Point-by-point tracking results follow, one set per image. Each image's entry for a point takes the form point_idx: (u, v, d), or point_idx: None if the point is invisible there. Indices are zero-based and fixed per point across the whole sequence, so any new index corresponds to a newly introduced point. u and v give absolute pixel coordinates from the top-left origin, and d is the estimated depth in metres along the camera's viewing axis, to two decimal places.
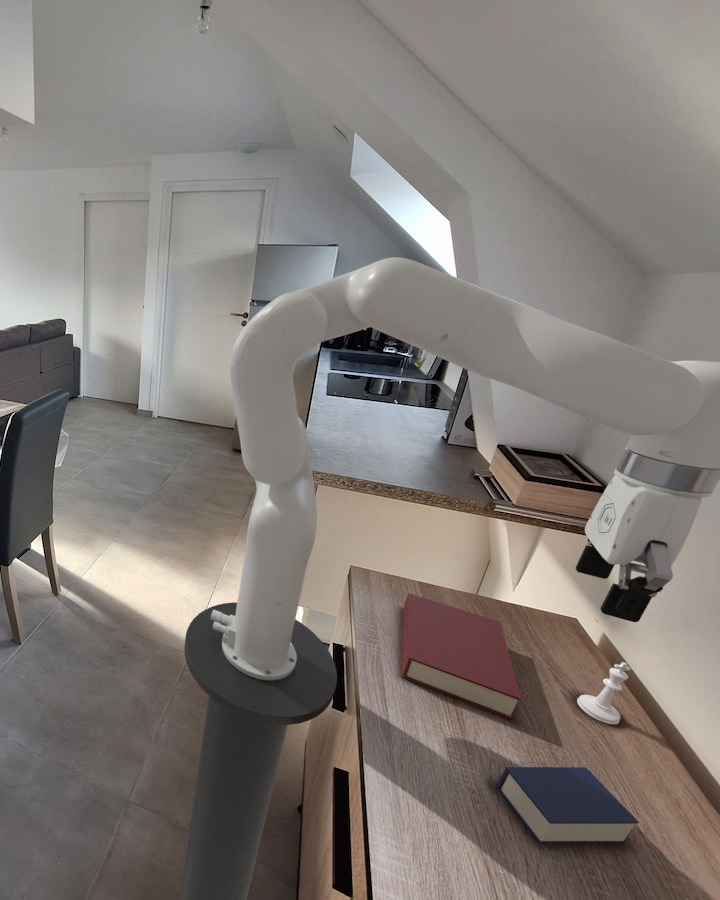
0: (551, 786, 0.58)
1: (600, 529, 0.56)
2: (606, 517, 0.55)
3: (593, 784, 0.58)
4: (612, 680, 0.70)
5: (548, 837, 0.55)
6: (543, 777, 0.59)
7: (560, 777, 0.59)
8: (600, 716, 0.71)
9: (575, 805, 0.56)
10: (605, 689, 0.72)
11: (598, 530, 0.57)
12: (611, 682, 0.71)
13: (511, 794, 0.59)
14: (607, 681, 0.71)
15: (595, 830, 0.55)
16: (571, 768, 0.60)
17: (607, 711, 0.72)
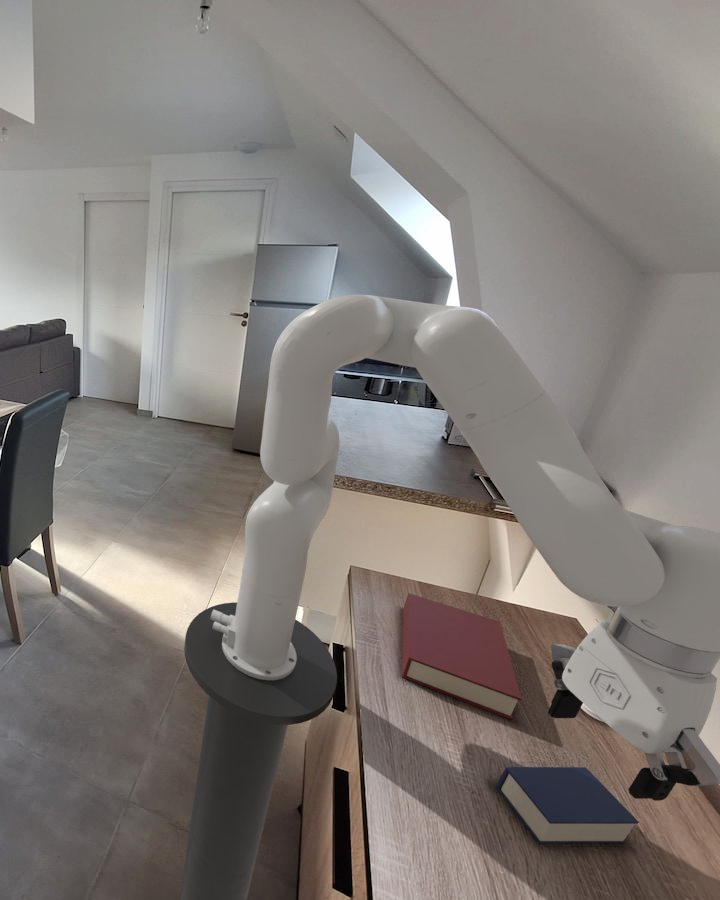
0: (551, 786, 0.58)
1: (602, 698, 0.51)
2: (608, 687, 0.51)
3: (593, 784, 0.58)
4: None
5: (548, 837, 0.55)
6: (543, 777, 0.59)
7: (560, 777, 0.59)
8: None
9: (575, 805, 0.56)
10: None
11: (597, 697, 0.52)
12: None
13: (511, 794, 0.59)
14: None
15: (595, 830, 0.55)
16: (571, 768, 0.60)
17: None
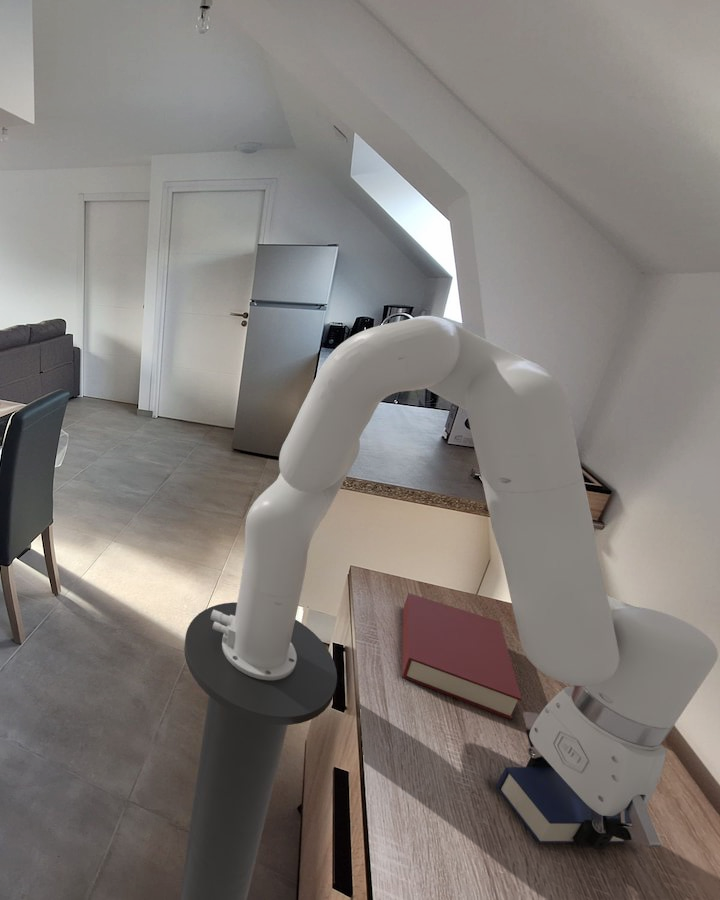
0: (551, 786, 0.58)
1: (564, 760, 0.55)
2: (569, 750, 0.54)
3: None
4: None
5: (548, 837, 0.55)
6: (543, 777, 0.59)
7: (560, 777, 0.59)
8: None
9: (575, 805, 0.56)
10: None
11: (559, 758, 0.55)
12: None
13: (511, 794, 0.59)
14: None
15: None
16: None
17: None
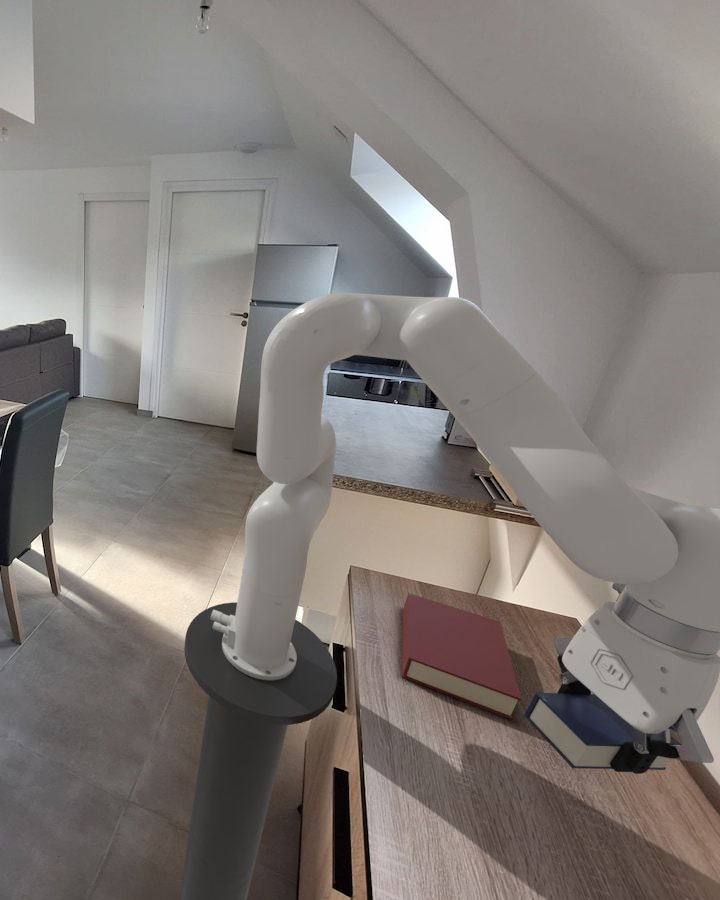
0: (585, 711, 0.53)
1: (603, 679, 0.51)
2: (609, 667, 0.50)
3: None
4: None
5: (583, 762, 0.51)
6: (577, 703, 0.54)
7: (595, 703, 0.55)
8: None
9: (613, 729, 0.51)
10: None
11: (598, 678, 0.51)
12: None
13: (542, 720, 0.55)
14: None
15: None
16: None
17: None
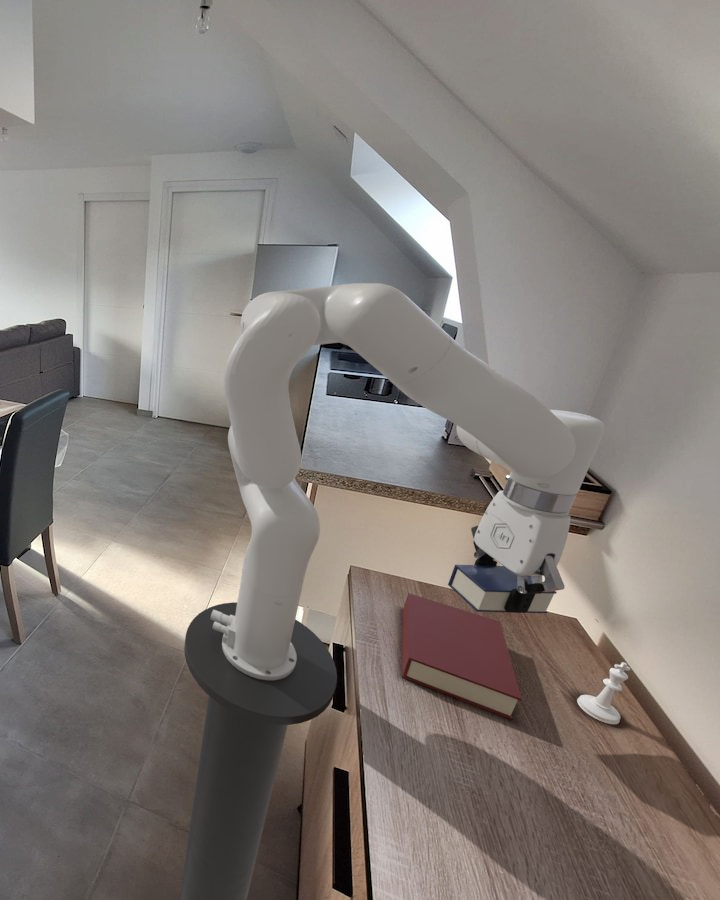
0: (490, 574, 0.72)
1: (497, 544, 0.69)
2: (501, 535, 0.68)
3: None
4: (612, 680, 0.70)
5: (484, 606, 0.69)
6: (484, 570, 0.73)
7: (498, 570, 0.73)
8: (600, 716, 0.71)
9: (507, 583, 0.70)
10: (605, 689, 0.72)
11: (494, 545, 0.69)
12: (611, 682, 0.71)
13: (459, 584, 0.73)
14: (607, 681, 0.71)
15: None
16: None
17: (607, 711, 0.72)
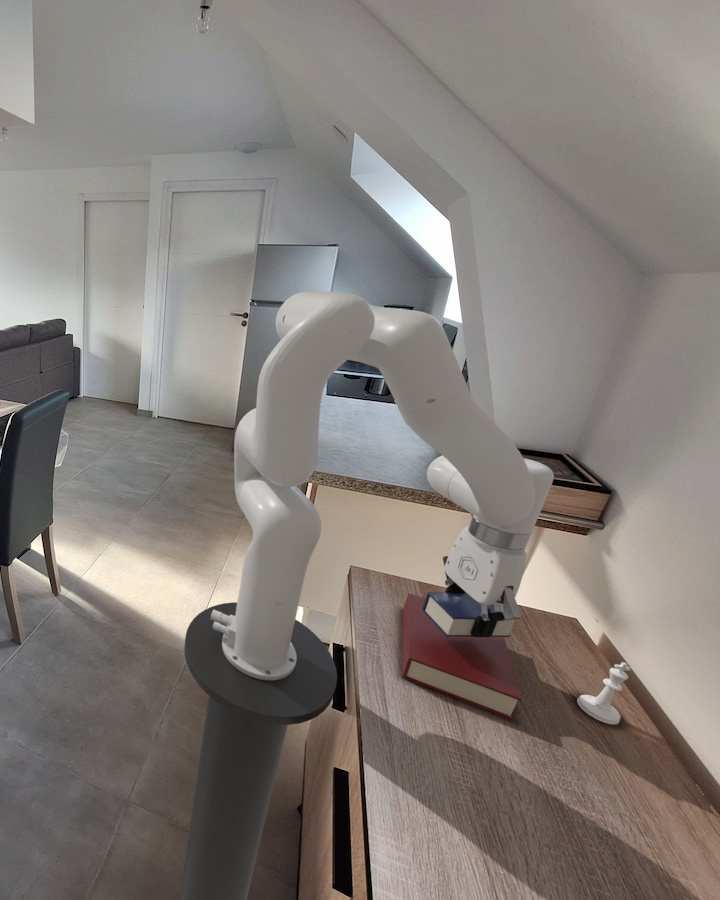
0: (458, 601, 0.79)
1: (464, 576, 0.76)
2: (467, 567, 0.76)
3: None
4: (612, 680, 0.70)
5: (453, 631, 0.76)
6: (454, 597, 0.80)
7: (466, 597, 0.80)
8: (600, 716, 0.71)
9: (473, 610, 0.77)
10: (605, 689, 0.72)
11: (461, 576, 0.77)
12: (611, 682, 0.71)
13: (431, 610, 0.80)
14: (607, 681, 0.71)
15: None
16: None
17: (607, 711, 0.72)
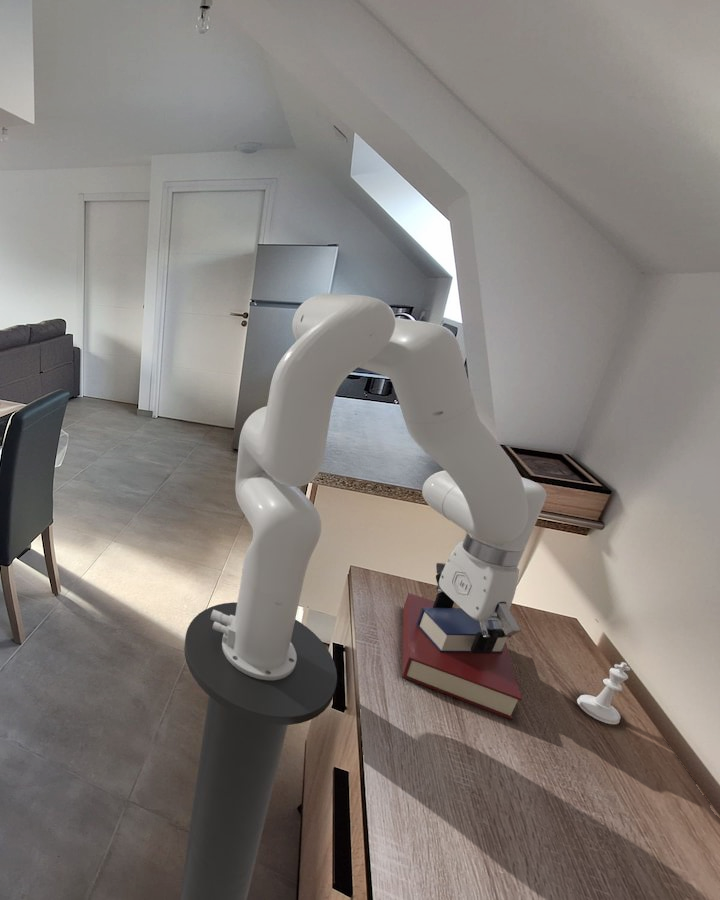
0: (452, 617, 0.80)
1: (458, 590, 0.77)
2: (460, 582, 0.77)
3: None
4: (612, 680, 0.70)
5: (447, 647, 0.77)
6: (448, 612, 0.81)
7: (460, 613, 0.81)
8: (600, 716, 0.71)
9: (467, 626, 0.78)
10: (605, 689, 0.72)
11: (455, 591, 0.78)
12: (611, 682, 0.71)
13: (425, 625, 0.81)
14: (607, 681, 0.71)
15: None
16: None
17: (607, 711, 0.72)
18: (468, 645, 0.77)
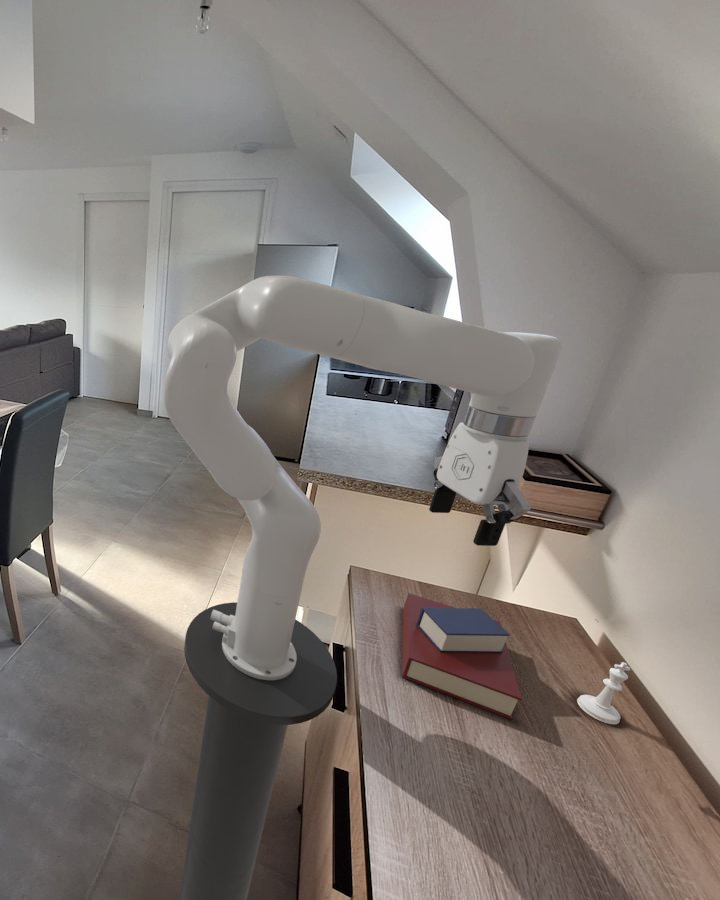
0: (452, 617, 0.80)
1: (458, 476, 0.67)
2: (461, 466, 0.67)
3: (483, 616, 0.81)
4: (612, 680, 0.70)
5: (447, 647, 0.77)
6: (448, 612, 0.81)
7: (460, 613, 0.81)
8: (600, 716, 0.71)
9: (467, 626, 0.78)
10: (605, 689, 0.72)
11: (455, 477, 0.68)
12: (611, 682, 0.71)
13: (425, 625, 0.81)
14: (607, 681, 0.71)
15: (480, 641, 0.77)
16: (470, 608, 0.82)
17: (607, 711, 0.72)
18: (468, 645, 0.77)
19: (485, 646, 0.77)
